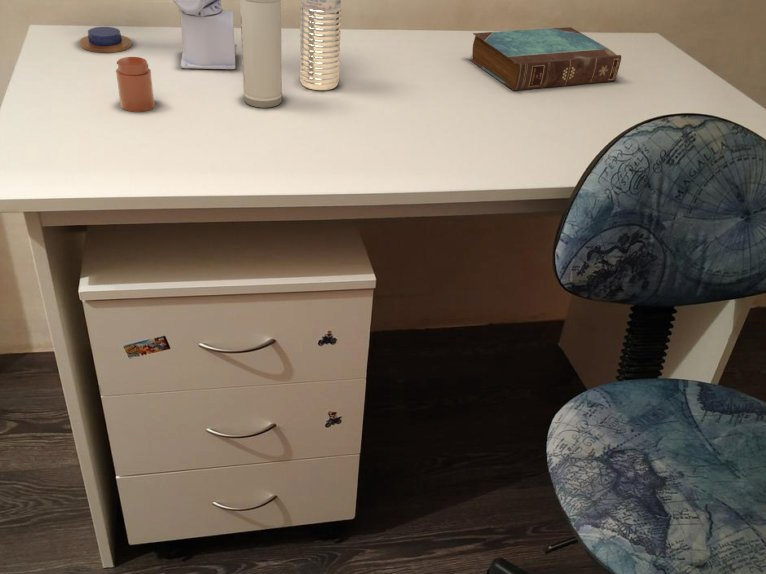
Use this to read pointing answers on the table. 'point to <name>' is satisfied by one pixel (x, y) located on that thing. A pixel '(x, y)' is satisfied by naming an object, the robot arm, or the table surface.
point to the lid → (104, 36)
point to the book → (544, 58)
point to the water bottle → (320, 43)
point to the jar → (135, 84)
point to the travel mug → (261, 52)
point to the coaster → (106, 49)
